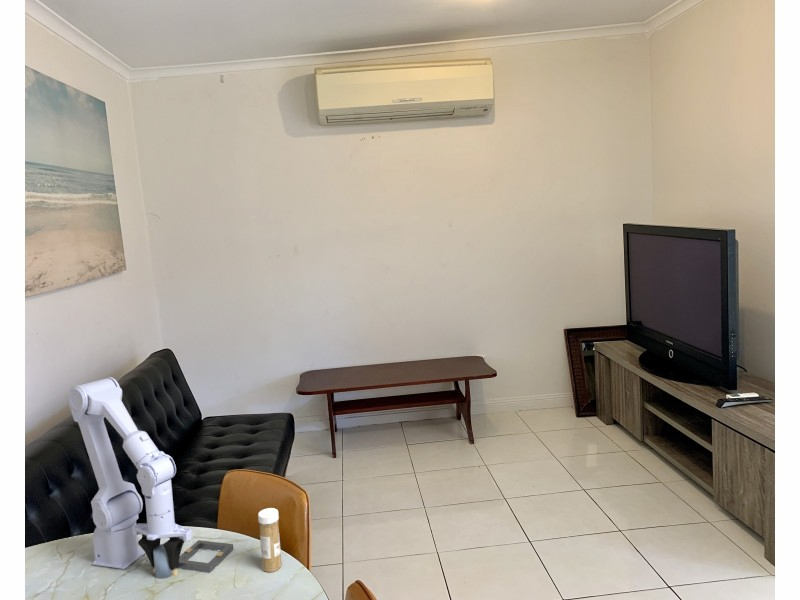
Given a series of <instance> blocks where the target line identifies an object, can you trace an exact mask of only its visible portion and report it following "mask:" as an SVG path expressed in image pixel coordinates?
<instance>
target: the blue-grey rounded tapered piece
mask: <svg viewBox="0 0 800 600" xmlns="http://www.w3.org/2000/svg"><path fill="white" fill-rule="evenodd" d="M163 544H164V543H160V545H158V546H156V547H155V548H154V549H153V556H154V567H153V570H152V573H153V574H155V576H154V577H155V578H157V579H166V578H167V579H168V578H170V577H171V576H174V577H175V576H176V575H178V574H179V569H178V568H175V569H174V570H170V567H169V561H168V555H167V552H166V550H165V548H164V546H163Z"/></svg>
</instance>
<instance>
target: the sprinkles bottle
mask: <svg viewBox="0 0 800 600" xmlns="http://www.w3.org/2000/svg"><path fill="white" fill-rule="evenodd" d="M279 518H280V516H279V510H278V509H276V508H274V507H268V508H264V509H262V510H260V511H259V512H258V515H257V519H258V524H259V537H260V538H259V539H260V541H259V542H260V551H261V552H260V553H261V559H262V560H261V561H262V566H261V568H262V570H263V571H265V572H267V573H271V572H272V573H273V572H276V571H278V570H279V569H281V567H282V566H283V562H282V555H281V551H282V550H281V541H280V540H281V539H280V532H279V531H280V528H279Z"/></svg>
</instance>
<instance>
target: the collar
mask: <svg viewBox="0 0 800 600" xmlns="http://www.w3.org/2000/svg"><path fill="white" fill-rule="evenodd" d="M199 549H200V550H206V549H211V550H210V551H214V550H220V551H218V552H217V553H216V555H215V556H214V557H213V558H212V559H211V560H210V561H209V562H205V561H204V562H202V561H193V560H190V559H191V558H192V557H193V556H194V555H195V554H196V553H197V552H199V551H198V550H199ZM234 549H235V548H234V544H233V543H226V542H219V541H209V540H200V539H199V540H197V541H196V542H195V543H193V544H192V545H191V546H190V547H187V549H185V550H184V552H183V553H182V554H180V557H179V564H178V566H177V567H176V569H177V570H179V569H180V570H186V569H187V570H186V571H193V570H195V572H203V573H210V572H211V573H212V572H213V571H214V570H215V569H216V568H217V567H218V566H219V565H220V564H221V563H223V561H224V560H225V559H226V558H227V557H228V556H229V555H230V554H232V552H233V551H235V550H234ZM216 566H217V567H216ZM215 567H216V568H215Z"/></svg>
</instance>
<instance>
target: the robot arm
mask: <svg viewBox="0 0 800 600" xmlns="http://www.w3.org/2000/svg"><path fill="white" fill-rule="evenodd" d="M122 398H123V389H122V388H121V387H120V383H119V382H118V381H117V380H116V379H115V378H114V377H112V376H107V377H105V378H102V379H98V380H95V381H91V382H87V383H82V384H76V385H73V386H72V387H71V388H70V389H69V393H68V395H67V399H66V400H67V402H68V406H69V410H70V413H71V415H72V418H73V420H74V422H76V423H77V425H78V426H79V429H80V432H81V435H82V438H83V442H84V445H85V448H86V452H87V454H88V457H89V461H90V464H91V467H92V470H93V473H94V477H95V479H96V482H97V485H98V486H97V487H98V491H97V493H96V494H95V495H94V497H93V498H92V500H91V501H90V504H91V509H92V519H93V523H94V525H95V526H96V527H95V528H94V531H93V534H92V544H93V555H94V560H93V562H92V563H91V564H92V565H93V566H99V567H105V568H114V569H119V570H120V569H121V570H125V569H127V568H128V567H129V566H130V565H132V564H133V563H134V562H135V561H137V560H138V559H139V558H141V557H142V556H143V555H146V557H147V559H148V561H149V563H150V566H151V568H155V567H154V556H153V549H154V548H155V547H156V546H158V545H161V539H164V538H165V539H166V538H167V539H168V538H169V539H168V540H167V541H166V542H165V543H162V544H163V546H164V548H165V550H166V552H167V555H168V561H169V567H170V570H174V569H175V568H176V567H177V566H178V564H179V557H180V556H181V551H182V549H183V546H184V544H185V542H188V541H189V540H191V538H193V530H192V529H191V528H187V527H184V526H182V525H179V524H177V523H176V521H175V520H176V519H175V511H174V500H173V498H174V497H173V487H172V486H173V485H172V479H173V478H174V477H175V475H176V473H177V467H176V464H175V461H174V459H173V457H172V456H170V455H169V454H166V453H165V452H164V451H162V450H159V449H158V447H157V445H155V443H154V441H153V440H152V439H151V437H150V436H149V434H148V432H146V431H145V430H139V428H138V427H137V425H136V424H135V422H134V420H133V418H132V417H131V415H130V414H129V411H128V410H127V408H126V407H125V405H124V402H123V401H122V400H123V399H122ZM105 418H106V420H107V421H108V422H109V423H110V425H111V426H112V427H113V428H114V429H115V431H116V432H117V433H118V434H119V435H120V437H122V439H123V443H122V448H123V450H124V452H125V453H126V455H127V457H128V458H129V459H130V460H131V463H133V465H134V466H135V468H136V469H137V473H136V479H137V481H138V484H139V485H140V487H141V489H140V490H141V493H142V495H143V496H144V501H145V502H144V501H143V499H142V497H141V494H139V493H138V491H137V489H136V486H135V484H134V483H132V482H128V481H127V480H126V481H125V480H123V476H122V473H121V471H120V468H119V464H118V461H117V458H116V454H115V451H114V449H113V445H112V442H111V438H110V437H109V434H108V430H107V427H106V424H105V421H104V419H105ZM143 502H144V503H145V512H146V523H137V520H138V519H139V518H140V517H139V514H140V513H142V510H143V505H144V503H143ZM138 535H141V538H140V539H139V538H138ZM138 539H139V540H138ZM139 546H140V547H141V548H139ZM176 569H177V568H176Z"/></svg>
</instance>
